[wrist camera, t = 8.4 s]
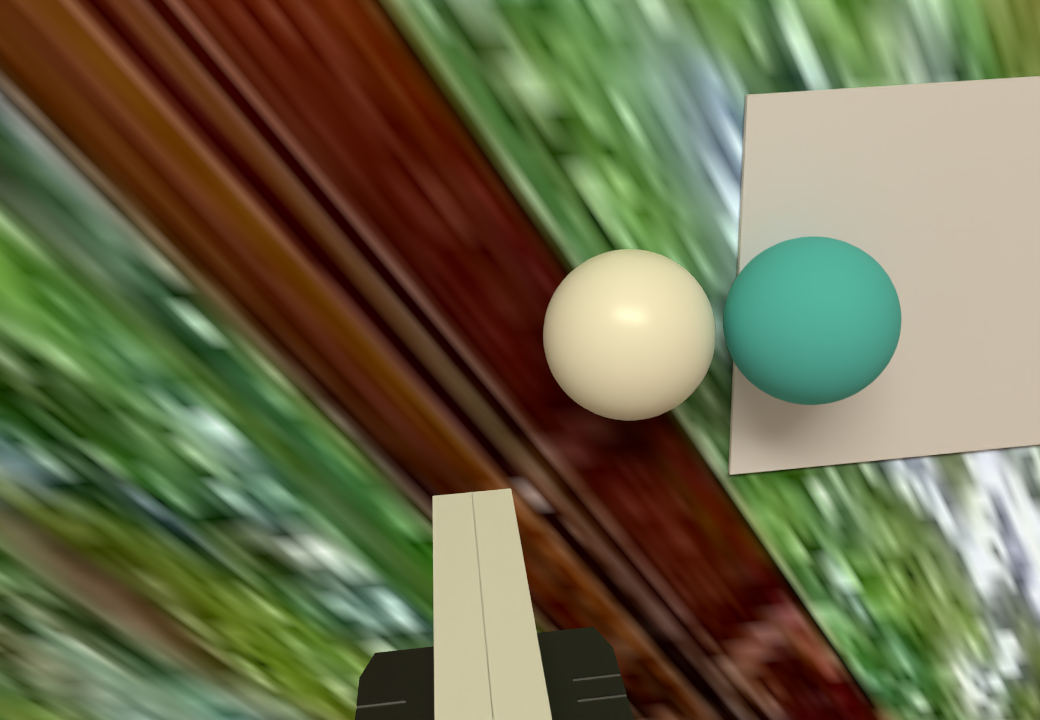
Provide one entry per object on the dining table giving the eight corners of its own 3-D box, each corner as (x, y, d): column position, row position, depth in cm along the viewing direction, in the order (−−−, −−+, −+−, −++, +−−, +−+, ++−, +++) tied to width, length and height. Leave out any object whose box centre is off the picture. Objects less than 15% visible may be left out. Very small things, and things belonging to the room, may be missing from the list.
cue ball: (504, 266, 25) (588, 227, 30) (516, 430, 27) (593, 371, 32) (677, 283, 23) (742, 237, 27) (676, 465, 25) (736, 395, 29)
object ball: (837, 213, 30) (953, 248, 25) (824, 357, 32) (929, 416, 27) (696, 230, 28) (788, 271, 23) (691, 380, 30) (776, 446, 25)
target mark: (1148, 69, 28) (1153, 69, 28) (1069, 438, 34) (1073, 440, 33) (745, 94, 27) (747, 94, 27) (728, 472, 33) (729, 474, 32)
